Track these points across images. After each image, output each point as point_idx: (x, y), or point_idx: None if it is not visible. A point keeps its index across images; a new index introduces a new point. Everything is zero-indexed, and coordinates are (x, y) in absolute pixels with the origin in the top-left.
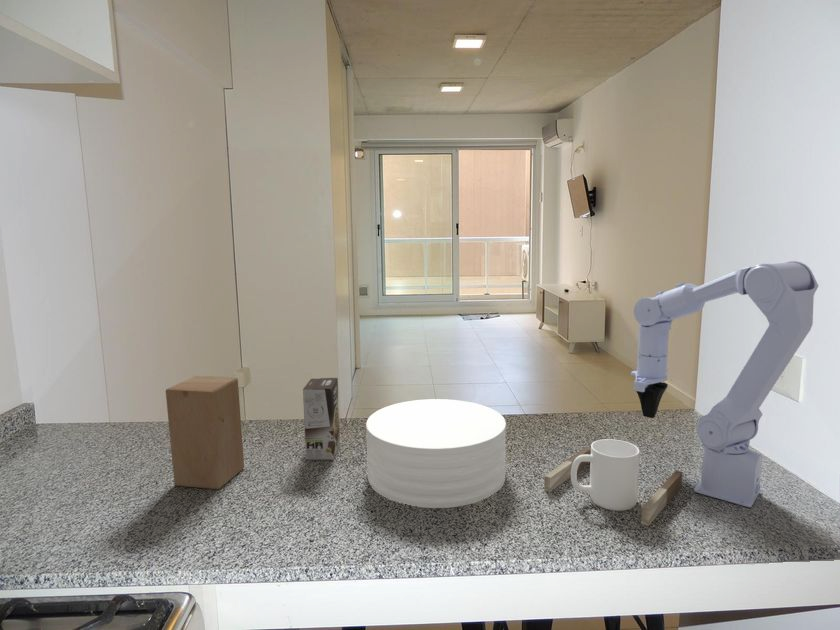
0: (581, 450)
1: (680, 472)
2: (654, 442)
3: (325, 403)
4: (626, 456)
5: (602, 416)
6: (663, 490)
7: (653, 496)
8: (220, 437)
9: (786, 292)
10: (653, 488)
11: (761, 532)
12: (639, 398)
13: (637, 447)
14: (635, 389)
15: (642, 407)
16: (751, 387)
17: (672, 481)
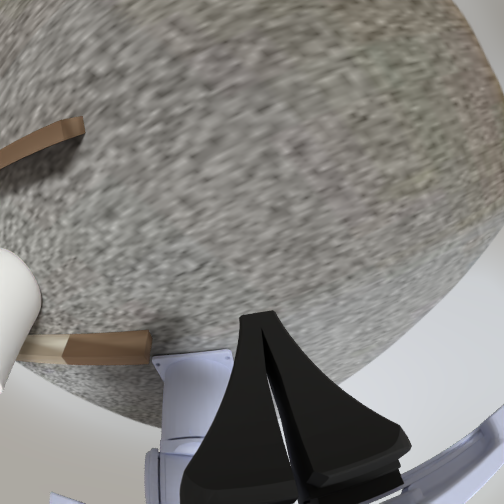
0: (29, 136)
1: (143, 362)
2: (367, 191)
3: None
4: (4, 344)
5: (445, 18)
6: (60, 361)
7: (34, 356)
8: None
9: None
10: (99, 310)
11: (134, 410)
12: (221, 402)
13: (1, 390)
14: (57, 501)
15: (236, 354)
16: None
17: (97, 363)
